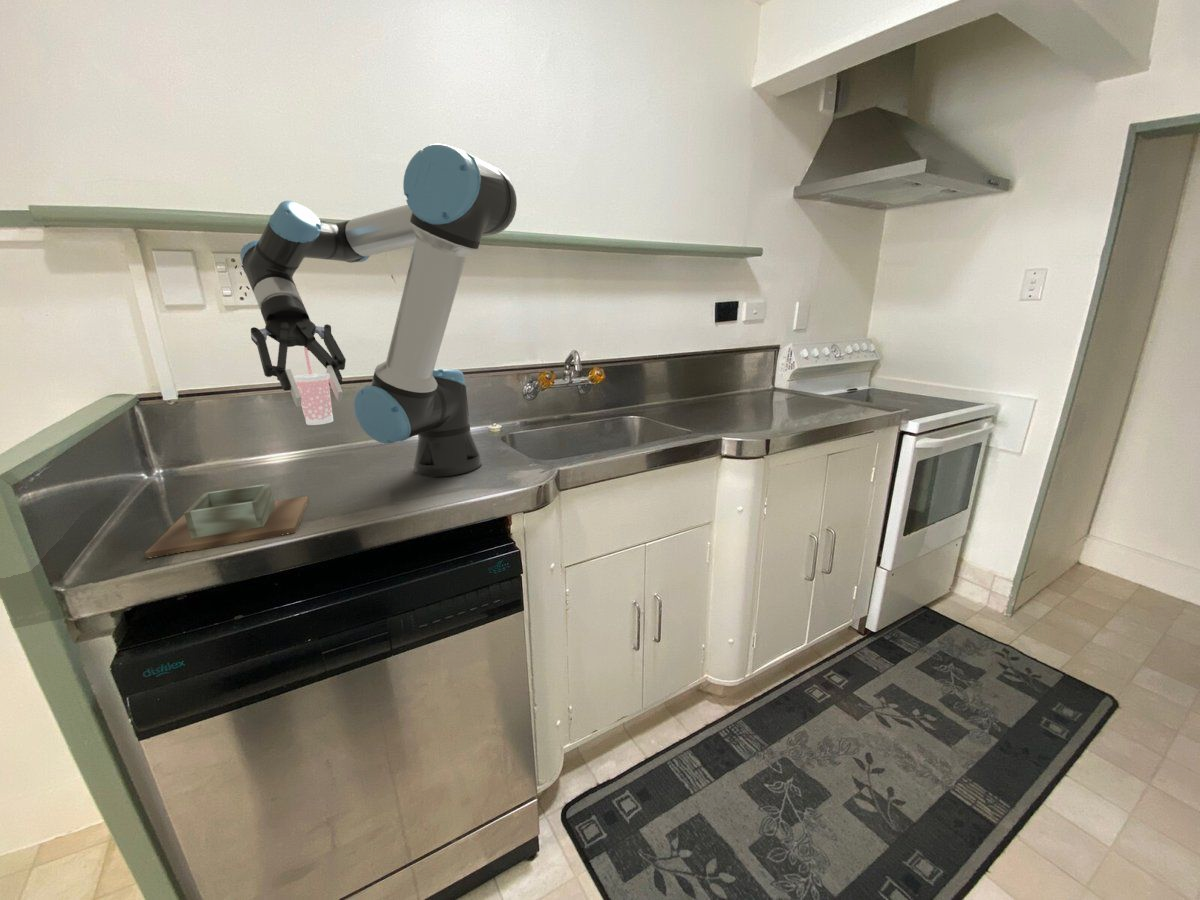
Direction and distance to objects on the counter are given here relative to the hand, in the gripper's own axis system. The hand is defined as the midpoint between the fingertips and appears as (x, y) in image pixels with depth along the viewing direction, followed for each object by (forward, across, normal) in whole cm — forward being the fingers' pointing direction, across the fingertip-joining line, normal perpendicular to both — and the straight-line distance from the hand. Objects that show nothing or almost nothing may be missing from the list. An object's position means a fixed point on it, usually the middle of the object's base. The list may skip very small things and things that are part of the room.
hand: (319, 399), depth 89 cm
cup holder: (+13, +16, -16) cm, 26 cm away
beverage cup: (+1, 0, -6) cm, 6 cm away
